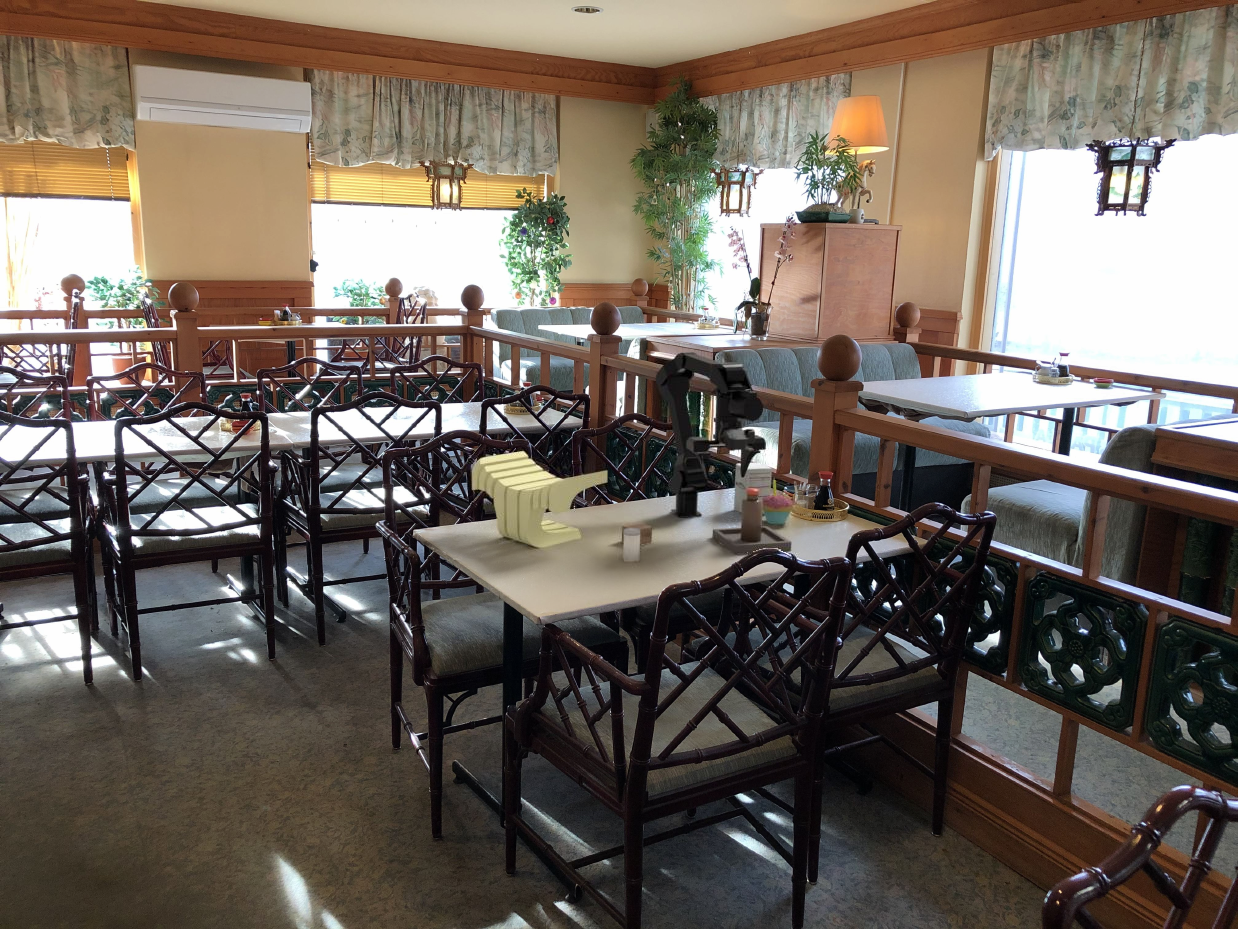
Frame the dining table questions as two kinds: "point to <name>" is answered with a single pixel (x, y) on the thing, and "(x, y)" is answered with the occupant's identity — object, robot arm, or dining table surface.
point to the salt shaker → (631, 544)
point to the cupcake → (776, 507)
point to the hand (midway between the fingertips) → (725, 478)
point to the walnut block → (644, 532)
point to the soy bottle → (751, 516)
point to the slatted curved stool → (529, 497)
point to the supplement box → (752, 482)
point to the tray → (736, 545)
